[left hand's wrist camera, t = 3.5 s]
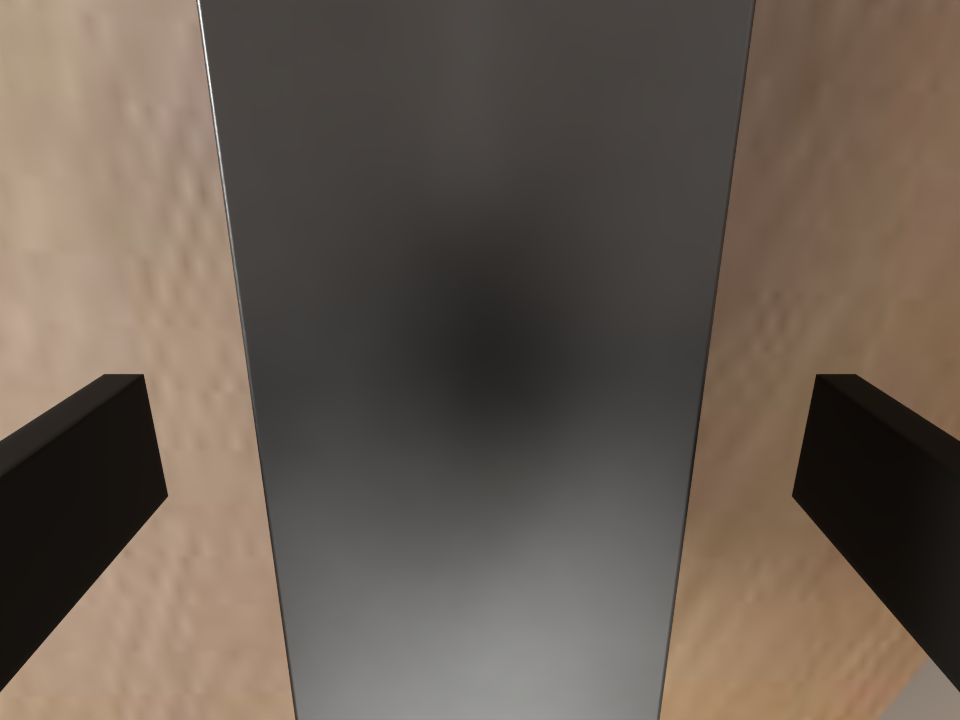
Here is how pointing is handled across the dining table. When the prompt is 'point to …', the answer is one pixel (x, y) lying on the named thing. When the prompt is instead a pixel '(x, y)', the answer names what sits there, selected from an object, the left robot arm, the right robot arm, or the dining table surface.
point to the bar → (476, 334)
